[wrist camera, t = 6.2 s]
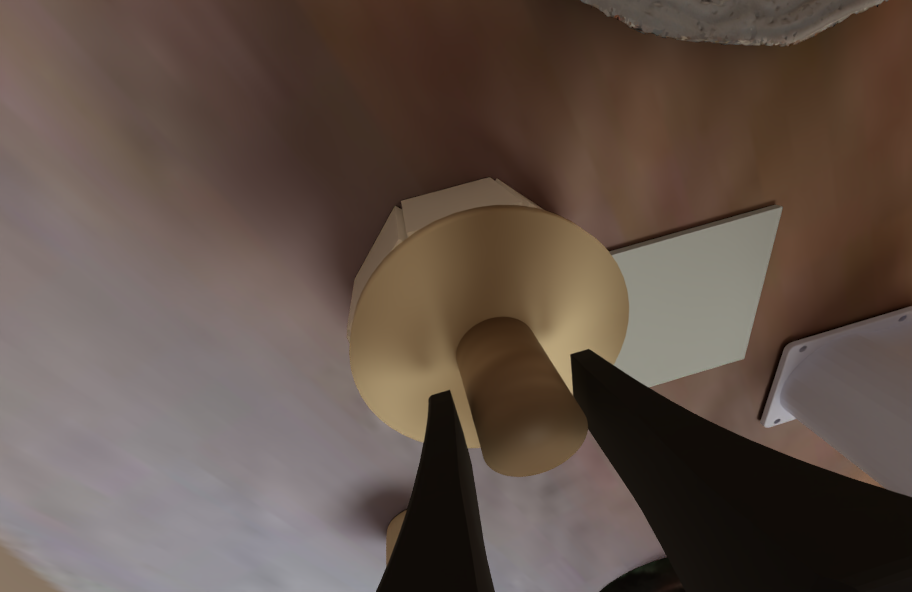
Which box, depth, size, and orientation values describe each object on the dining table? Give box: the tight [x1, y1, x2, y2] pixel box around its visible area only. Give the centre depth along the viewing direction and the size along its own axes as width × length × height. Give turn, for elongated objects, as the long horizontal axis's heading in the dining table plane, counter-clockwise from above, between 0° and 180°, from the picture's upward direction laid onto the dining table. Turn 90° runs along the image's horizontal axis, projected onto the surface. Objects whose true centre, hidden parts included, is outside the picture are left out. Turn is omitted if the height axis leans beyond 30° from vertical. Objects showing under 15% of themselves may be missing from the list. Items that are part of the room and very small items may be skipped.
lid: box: [349, 205, 629, 477], centre depth 12 cm, size 10×10×5 cm
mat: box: [609, 205, 783, 387], centre depth 20 cm, size 10×10×1 cm
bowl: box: [347, 177, 544, 343], centre depth 16 cm, size 10×10×4 cm
